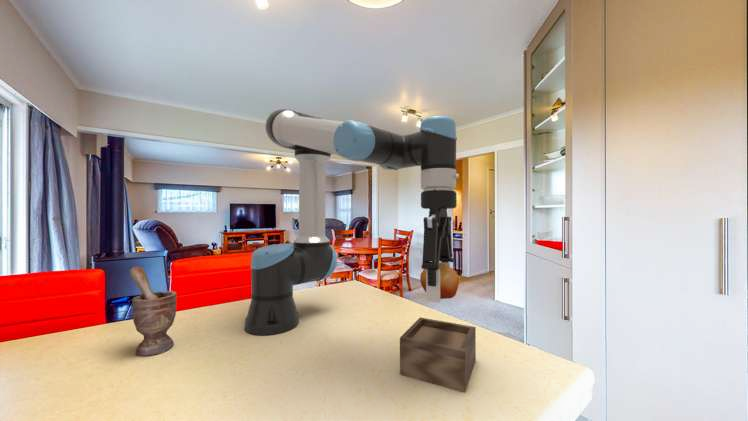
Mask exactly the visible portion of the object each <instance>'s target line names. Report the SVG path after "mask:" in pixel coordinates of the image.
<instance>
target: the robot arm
mask: <svg viewBox="0 0 748 421" xmlns="http://www.w3.org/2000/svg"><path fill="white" fill-rule="evenodd" d="M265 132H266V135H267V137H268V138H269V140H271V142H272V143H273V144H274V145H276V146H279V147H280V148H282V149H283V148H284V149H288V150H293V151H294V159H296V161H297V162H298V164H299V168H298V171H299V173H298V174H299V175H298V178H299V179H298V188H299V189H298V192H299V193H298V236H297V237H296V238H295V239H294V240H293V244H292V243H278V244H269V245H266V246H261V247H258V248H256V249H255V250H254V251H252V253H251V264H250V270H251V272H250V275H251V276H250V278H251V279H250V280H251V281H250V282H251V283H250V284H251V285H250V286H251V290H250V291H251V295H250V296H251V300H250V304H249V308H248V311H247V315H246V316H245V318H244V331H246V333H249V334H252V335H256V336H257V335H259V336H267V335H269V336H270V335H276V334H280V333H281V334H282V333H285V332H288V331H290V330H292V329H294V328H295V327H297V326H298V325H299V323H300V321H299V320H300V316H299V312H298V310H297V306H296V302H295V300H294V289H293V288H294V286H297V285H302V284H307V283H311V282H312V283H313V282H319V281H322V280H324V279H328V278H329V277H331V276H332V274H334V272H335V270H336V268H337V263H338V256H337V252H336V249H335V248H334V246H333V245H331V244H330V243H331V242H330V239H329V238H328V237H327V236H326V189H327V188H326V184H327V183H326V178H327V177H326V175H327V173H326V172H327V166H326V164H327V163H328V162H329V161H331V156H332V155H336V156H339V157H341V158H344V159H346V160H350V161H354V162H364V163H369V164H370V163H371V164H375V165H378V166H380V167H381V168H382V169H383V170H386V171H387V170H393V171H394V170H395V171H397V170H400V169H401V170H402V169H406V168H413V167H420V189H421V190H423V191H421V193H420V207H421V209H424V210H425V209H426V210H427V209H428V210H429V211H428V217H426V216H425V217H423V241H422V242H423V244H422V261H421V262H422V264H421V269H423V270H424V269H426V292H425V298H426V299H425V301H426V302H431V303H438V304H439V303H441V299H440V269H438V268H439V264H445V265H447V266H449V267H450V268H451V263H454V262H455V259H454V258H453V245H452V244H453V243H452V241H453V240H452V217H451V216H448V215H449V214H448V209H455V208H457V203H458V202H457V201H458V200H457V192H456V191H455V190H454V189H456V188H457V179H458V178H460V175H459V173H457V141H458V138H457V128H456V121H455V119H453V118H452V117H450V116H447V115H433V116H429V117H425V119H424V118H423V120H422V121H421V123H420V128H419V131H417V132H413V133H410V134H405V135H401V134H399V133H395V132H391V131H388V130H385V129H381V128H378V127H375V126H372V125H369V124H366V123H365V122H363V121H356V120H351V119H347V120H344V121H341V120H332V119H323V118H321V117H316V116H313V115H309V114H306V113H302V112H298V111H296V110H291V109H285V108H284V109H283V108H282V109H277V110H275V111H273V112H271V113H270V114H269V115H268V117H267V118H266V122H265Z"/></svg>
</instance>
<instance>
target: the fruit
mask: <svg viewBox="0 0 748 421" xmlns="http://www.w3.org/2000/svg"><path fill="white" fill-rule="evenodd" d="M438 269H440V300H444V299H452V298H454V297H455V296H456V295H457V293H458V288H459V284H460V282H459V280H460V278H459V275H458V274H457V271H456V269H454V268H452V267H451V266H450V267H449V266H447V265H445V264H439V268H438ZM419 278H420V279H419V281H420V284H421V287H422V290H424V292H425V293H426V269H423V270H422V271H421V273H420V277H419Z"/></svg>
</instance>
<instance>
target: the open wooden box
mask: <svg viewBox="0 0 748 421" xmlns="http://www.w3.org/2000/svg"><path fill="white" fill-rule="evenodd" d="M476 333H477V332H476V326H471V325H466V324H461V323H459V324H458V323H455V322H448V321H442V320H437V319H431V318H426V317H422V316H421V317H419V318H417V320H416V321H415V322H413V324H411V325H410V327H409V328H408V329H406V331H405V332H404V333H403V334H402V335H401V336H400V337H399V375H401V376H404V377H408V378H412V379H416V380H419V381H423V382H426V383H430V384H434V385H437V386H440V387H444V388H448V389H452V390H454V391H459V392H463V393H466V390H467V388H468V385H469V382H470V379H471V375H472V372H473V370H474V367H475V363H476V358H477V357H476V356H477V355H476V349H477V348H476V345H477V344H476Z"/></svg>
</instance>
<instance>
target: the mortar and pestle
mask: <svg viewBox="0 0 748 421" xmlns="http://www.w3.org/2000/svg"><path fill="white" fill-rule="evenodd" d="M129 275H130V277H131V279H132V280H133V281H134V282H133V283H135V285H136V286H137V288H138V289H139V290H140V292H141V294H140V295H137V296H134V297H133V298H132V299H131V301H132V320H133V324H134V326H135V330H136V331H137V332H138V333H139V334H140V335H142V336H143V339H142V340H141V342H140V343H139V344H138V345H137V347H136V350H135V353H136V355H137V356H141V357H143V356H145V357H146V356H152V355H158V354H164V353H165V352H167V351H169V349H172V348H173V347H174V345H175V344H174V341H173V338H171V337H170V336H169V334H167V332H168V330H170V328H171V327H172V326H173V324H174V322H175V318H176V315H177V314H176V313H177V297H178V296H177V292H176V291H174V290H171V291H169V290H168V291H155V292H154V291H153V289H152V287H151V284H150V282H149V279H148V276H147V274H146V271H145V269H144V268H143V267H142V266H141V265H136V266H134V267H131V268H130V269H129Z"/></svg>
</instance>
